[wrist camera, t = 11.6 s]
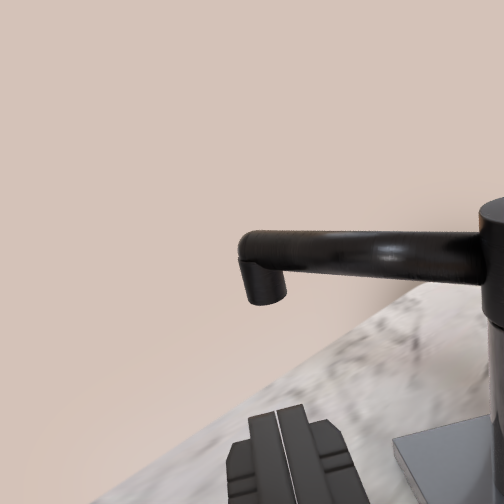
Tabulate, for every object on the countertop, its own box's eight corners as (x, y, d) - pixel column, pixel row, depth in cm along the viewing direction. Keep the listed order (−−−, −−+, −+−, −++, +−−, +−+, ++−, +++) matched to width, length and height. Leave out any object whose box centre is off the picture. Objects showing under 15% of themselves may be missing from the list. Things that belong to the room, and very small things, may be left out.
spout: (233, 309, 27) (211, 225, 25) (267, 280, 30) (249, 203, 28) (591, 363, 16) (600, 224, 14) (589, 310, 19) (597, 189, 17)
